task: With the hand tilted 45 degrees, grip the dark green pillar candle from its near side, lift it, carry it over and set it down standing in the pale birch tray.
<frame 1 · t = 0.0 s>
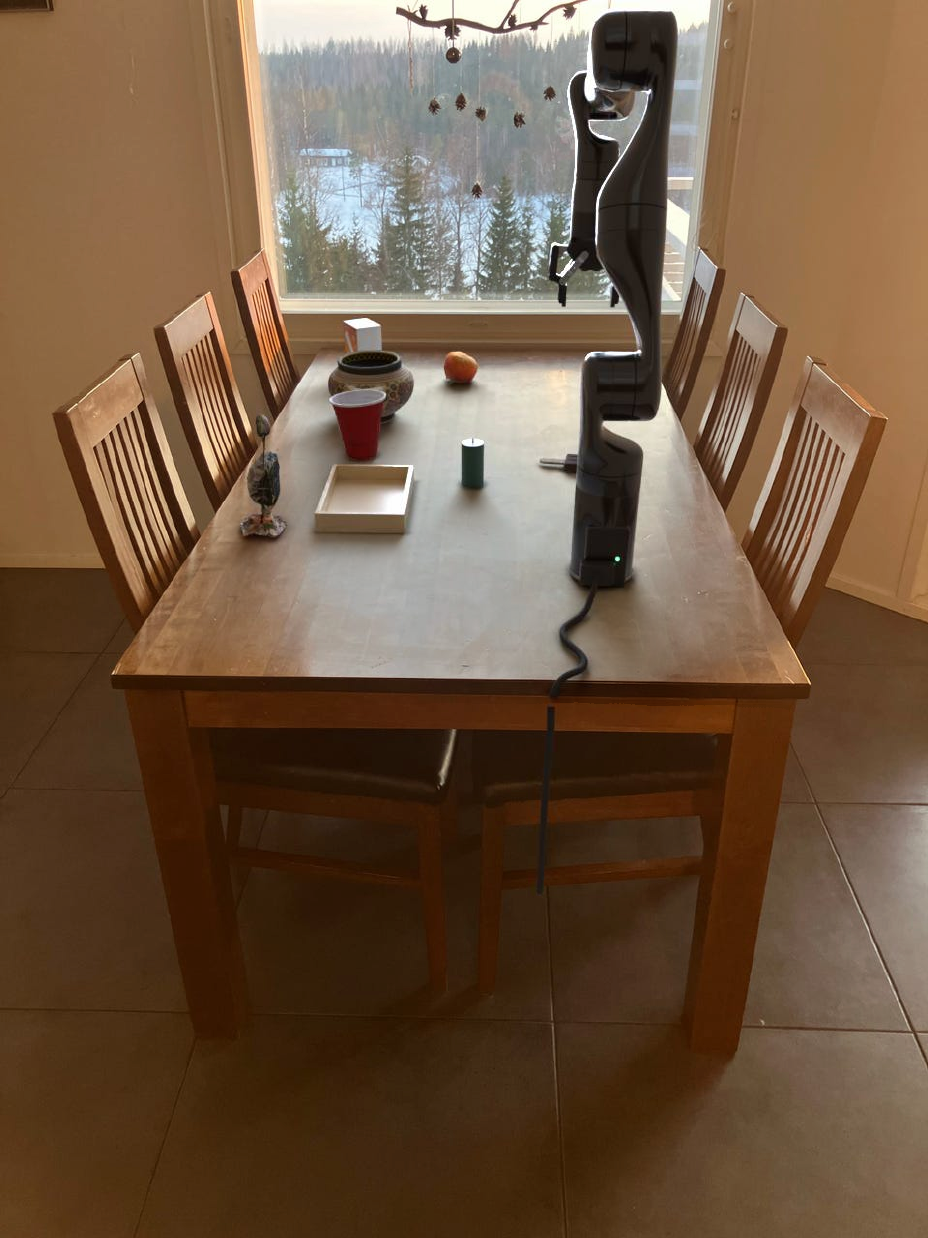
hand: (587, 306, 172), 29 cm above the table, tool pointing down, fingers open, 8 cm apart
fruit: (460, 382, 233), on the table
wooden tray: (367, 505, 170), on the table
ceramic bowl: (372, 418, 210), on the table
ice cream bar: (579, 468, 186), on the table
plastic cup: (360, 456, 191), on the table
small box: (364, 378, 235), on the table
green candle: (472, 484, 178), on the table
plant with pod: (265, 527, 162), on the table
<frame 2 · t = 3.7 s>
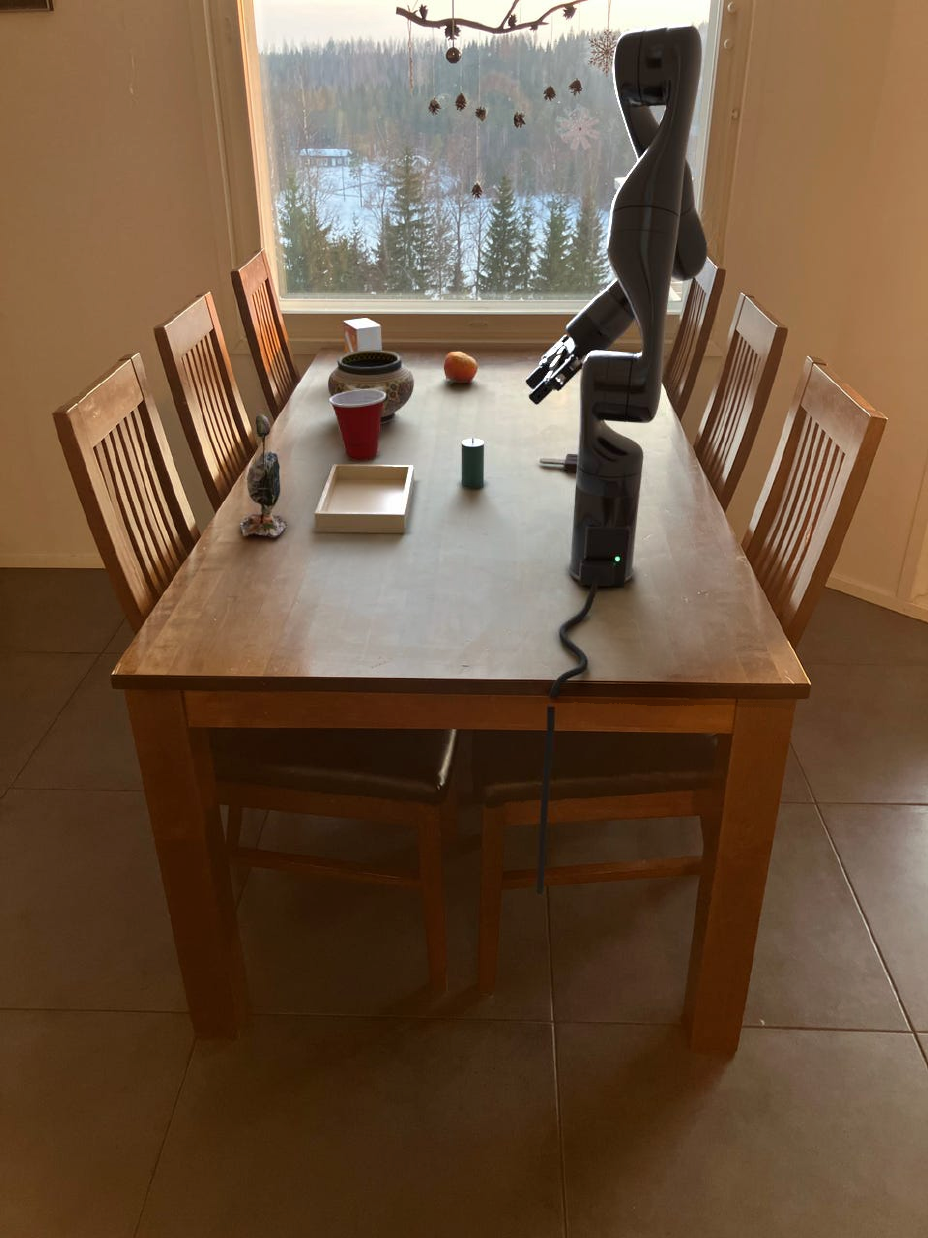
hand: (530, 392, 169), 17 cm above the table, tool tilted 45°, fingers open, 8 cm apart
nothing on the table moved.
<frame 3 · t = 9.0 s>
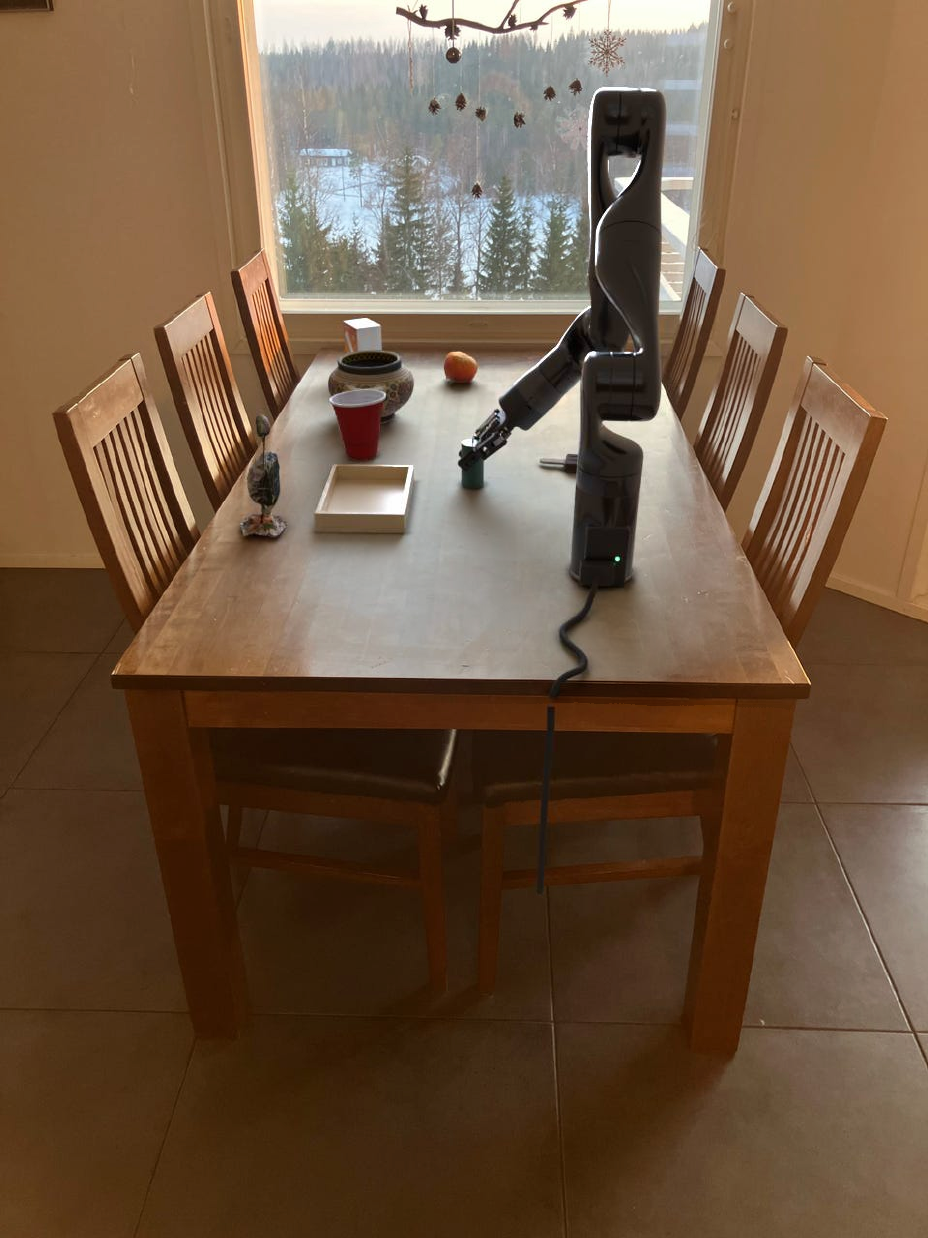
hand: (461, 462, 176), 4 cm above the table, tool tilted 45°, fingers closed on green candle, 4 cm apart
green candle: (472, 484, 178), on the table, touching gripper
everything else where it was.
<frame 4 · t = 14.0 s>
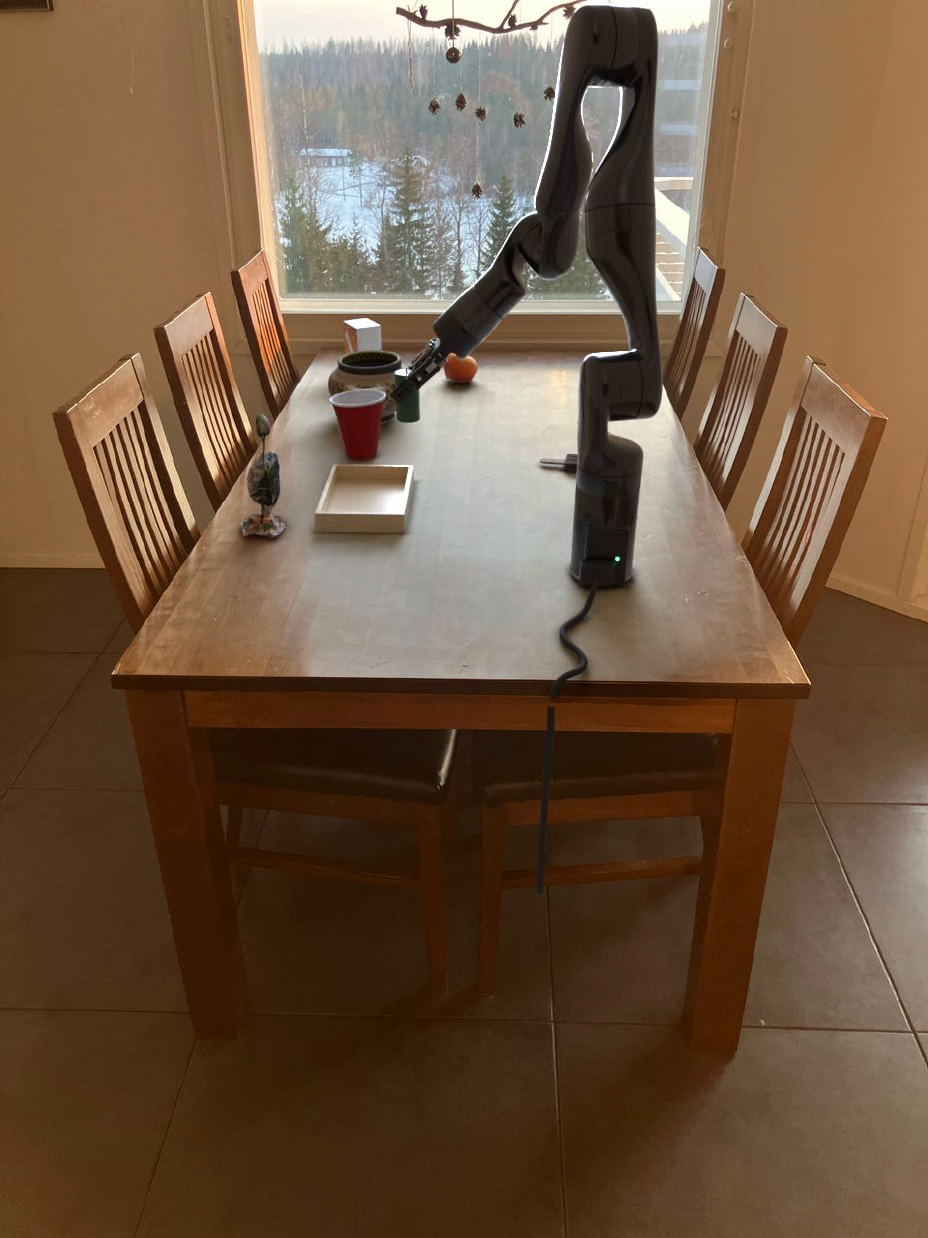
hand: (395, 394, 164), 18 cm above the table, tool tilted 45°, fingers closed on green candle, 4 cm apart
green candle: (408, 419, 166), point 14 cm above the table, touching gripper
everything else where it was.
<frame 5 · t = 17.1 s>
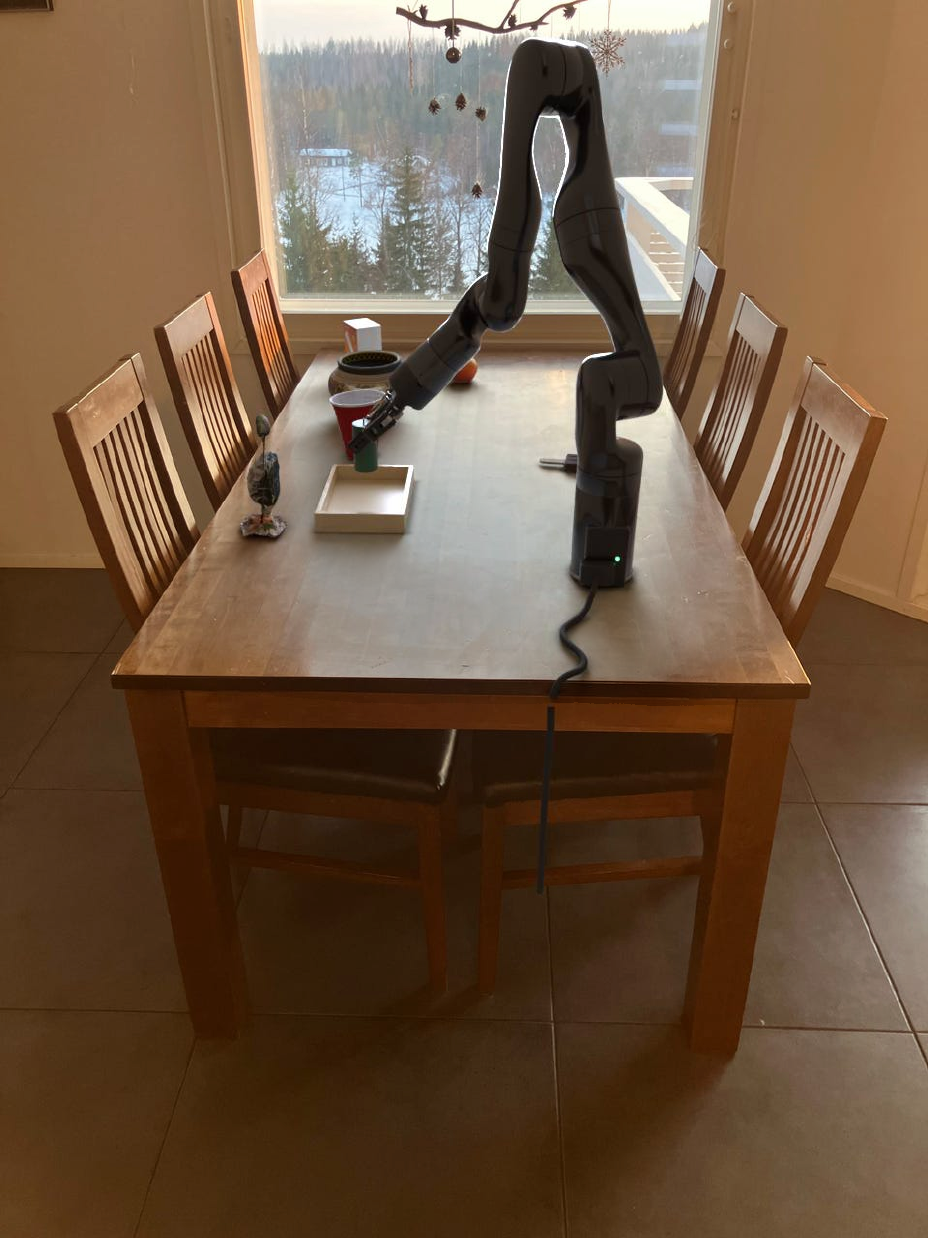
hand: (353, 444, 164), 11 cm above the table, tool tilted 45°, fingers closed on green candle, 4 cm apart
green candle: (366, 468, 167), point 7 cm above the table, touching gripper
everything else where it was.
when the fingers open (5 cm above the table, at t = 19.2 s): green candle stays where it is, resting on wooden tray.
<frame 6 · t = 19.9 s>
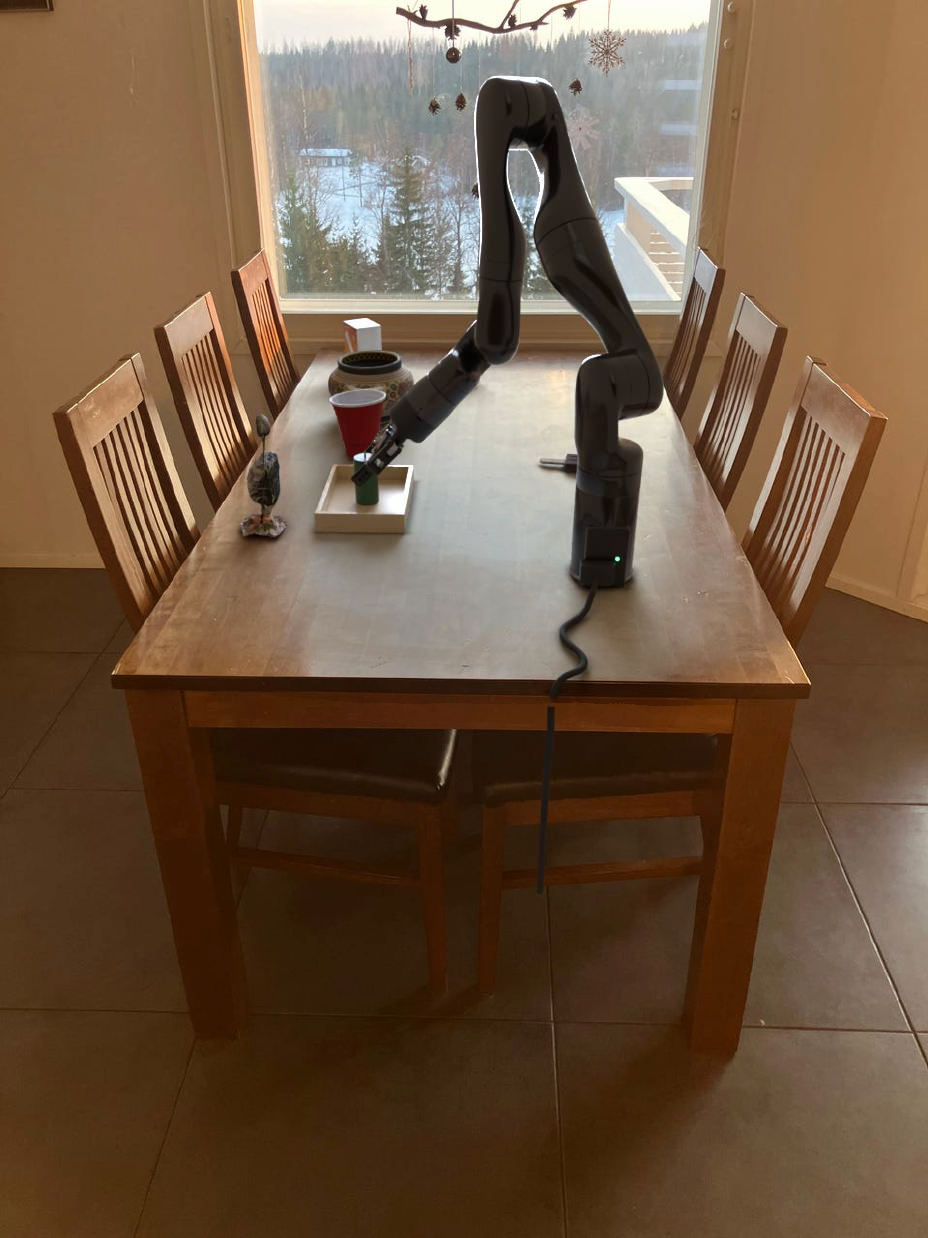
hand: (358, 473, 167), 6 cm above the table, tool tilted 45°, fingers open, 8 cm apart
green candle: (367, 500, 170), point 1 cm above the table, touching wooden tray
everything else where it was.
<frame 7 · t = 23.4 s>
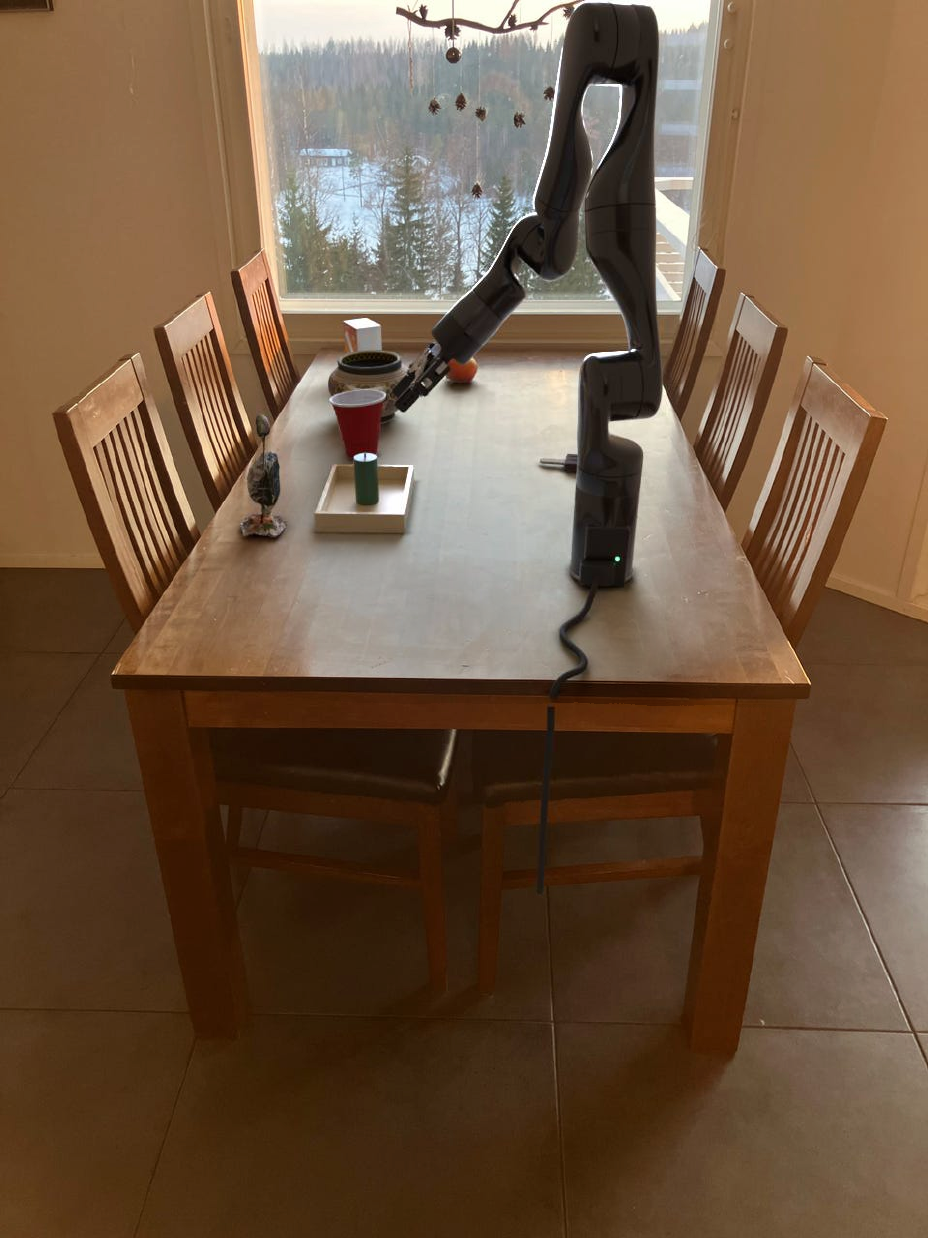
hand: (397, 401, 158), 19 cm above the table, tool tilted 45°, fingers open, 8 cm apart
nothing on the table moved.
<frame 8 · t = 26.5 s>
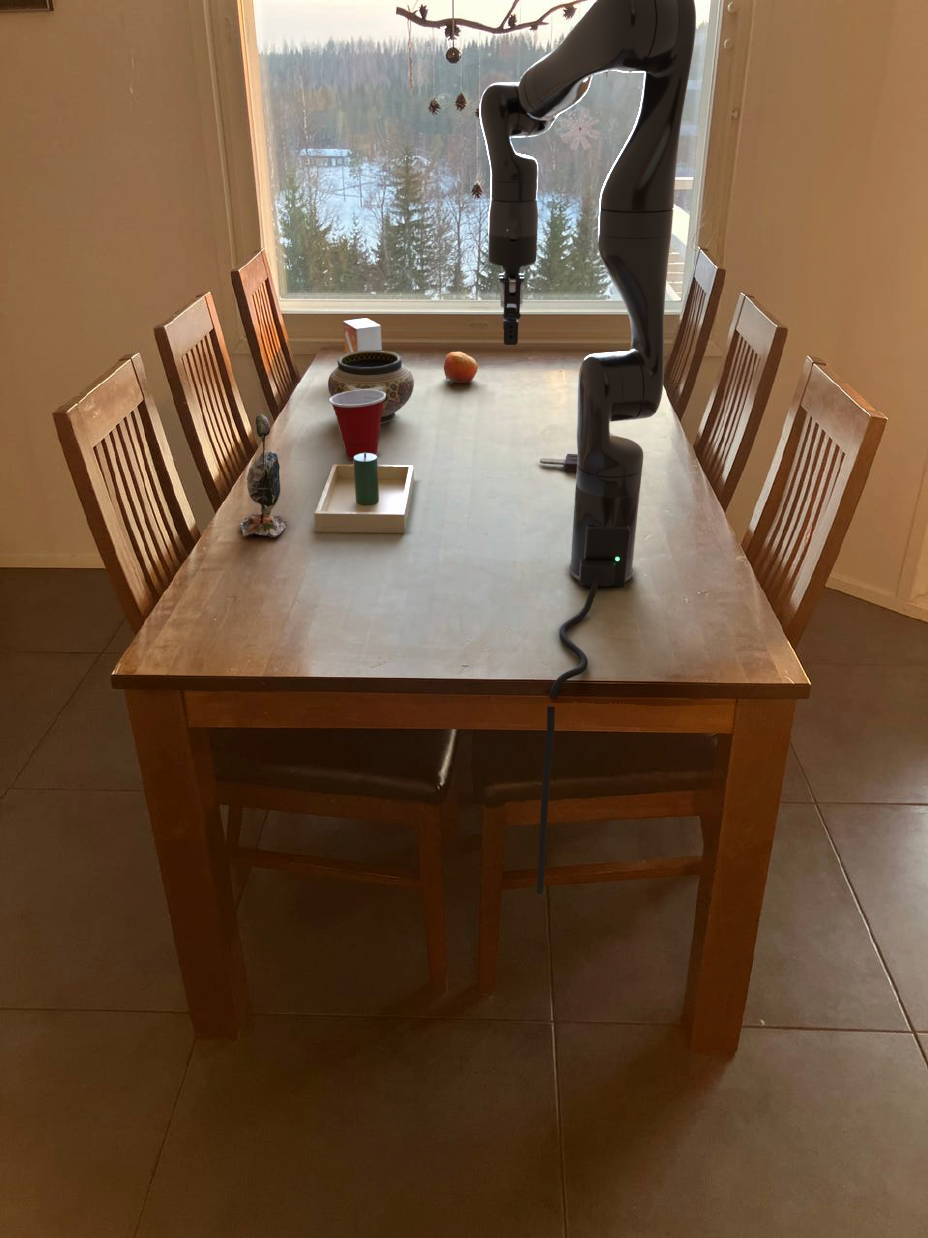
hand: (510, 337, 159), 28 cm above the table, tool pointing down, fingers open, 8 cm apart
nothing on the table moved.
at the end: green candle inside the target area in the wooden tray (0.2 cm from its centre), point 0.8 cm above the wooden tray's base; green candle tilted 0°; the gripper is holding nothing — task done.
